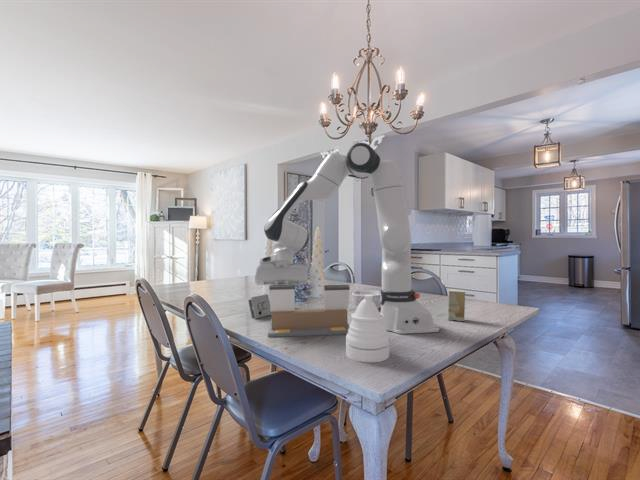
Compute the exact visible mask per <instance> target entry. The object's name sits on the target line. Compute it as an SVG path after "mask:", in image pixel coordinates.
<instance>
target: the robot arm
mask: <svg viewBox="0 0 640 480" xmlns="http://www.w3.org/2000/svg"><path fill="white" fill-rule="evenodd" d="M396 163H397V162H395V161H393V160H391V159H385V160H384V159H383V160H381V157H380V156H379V154H378V153H377V152H376V151H375V149H374V148H373V147H371V145H369V144H367V143H366V142H365V143H364V142H356V143H355V144H353V145H351V147H350V148H349V149H348V151H347V153H346V154H345V155H344V154H341V153H339V152H331V153H329V154H328V155H327V156H326V157H325V158H324V159H323V161H322V162H321V163H320V165H319V166H318V167H317V169H316V171H315V173H314V174H313V176H312V177H310V179H308V180H306V181H302V182H300V183H299V184H298V185H297V186H295V188H294V189H293V190H292V191H291V192H290V194H289V195H288V196H287V197H286V198H285V200H284V201H283V202H282V203H281V204H280V206H279V207H278V208H277V210H276V211H275V212H274V213H273V214H272V215H271V216H270V217H269V218H268V219H267V221H266V222H265V224H264V226H263V230H264V234H265V236H266V238H267V239H268V240H270V241H271V242H272V244H271V253H272V254H271V255H267V256H265V257H261V258H260V259H259V265H258V266H257V268H256V270H255V273H254V283H255V284H256V285H257V286H258V285H259V286H270V285H307V284H308V281H309V275H308V274H309V273H308V272H309V266H308V265H307V264H305V263H304V262H301V263H299V262H294V254H297V253H300V252H301V251H303V250H304V249H305V248H306V247H308V244H309V241H310V234H309V230H308V229H306V228H305V227H304V226H301V225H299V224H297V223H295V222H293V221H292V220H289V219H288V218H289V216H290V215H291V213H292V212H293V211H294V210H295V209H296V207H297V206H298V205H299V204H300V203H302V202H304V201H316V202H324V201H325V202H326V201H328V200H331V199H332V198H333V197H334V196H335V195H336V194H337V192H338V190H339V188H340V186H341V185H342V183H343V182H344V180H345V179H346V178H347V177H350V178H351V177H352V178H355V179H367V178H369V179H370V180H371V183H372V189H373V196H374V201H375V202H374V203H375V208H376V217H377V225H378V232H379V239H380V246H381V247H382V249H381V250H382V251H381V289H380V292H381V293H380V302H381V305H380V311H379V312H380V313H382V314H384V315H385V318H384V319H383V323H384V325H385V326H386V328H385V329H386V331H387V332H388V331H389V332H393V333H395V334H399V335H401V334H402V335H406V334H422V333H424V334H425V333H427V334H428V333H439V331H440V327H439V325H438V323H436V322H435V321H434V320H433V316H432V313H431V311H430V310H429V309H428V308H427V307H426V306H424V304H423V303H421V302H420V301H418V299H420V297H421V295H420V293H418V292H417V291H414V290H412V250H411V249H412V245H411V244H412V234H411V229H410V224H409V223H410V222H409V217H408V210H407V205H406V200H405V199H406V198H405V192H404V186H403V182H402V181H403V180H402V176H401V173H400V171H399V167H398V165H397V164H396Z"/></svg>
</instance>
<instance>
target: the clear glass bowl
mask: <svg viewBox="0 0 640 480" xmlns="http://www.w3.org/2000/svg"><path fill="white" fill-rule="evenodd" d="M380 293H381V290H380V291H379V290H366V289H365V290H358V291H357V290H355V291H353V292H351V303H352V304H353V305H354V306H355V309H357V307H358V305H359V304H360V302H361V301H362V300H364V299H365V298H364V295H373V299H372V301H373V302H374V304H375V305H376V307H377V308H378V310H379V309H380V308H381V302H380Z"/></svg>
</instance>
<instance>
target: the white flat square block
mask: <svg viewBox="0 0 640 480" xmlns="http://www.w3.org/2000/svg"><path fill="white" fill-rule="evenodd" d="M323 288H324V289H323V290H324V291H323V308H324V310H334V309H346V310H348V309H349V296H350V288H351V287H350V284H325V285H323Z"/></svg>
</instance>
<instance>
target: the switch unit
mask: <svg viewBox="0 0 640 480" xmlns="http://www.w3.org/2000/svg"><path fill="white" fill-rule="evenodd" d="M270 317H271V322H270V323H269V326H268V333H267V337H268V338H274V337H276V338H278V337H299V336H301V337H302V336H303V337H305V336H321V335H323V336H325V335H326V336H327V335H347V333H348V329H349V325H350V323H348V309H334V310H324V307H323V308H299V309H297V308H295V310H291V311H272V313H271V315H270Z"/></svg>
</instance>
